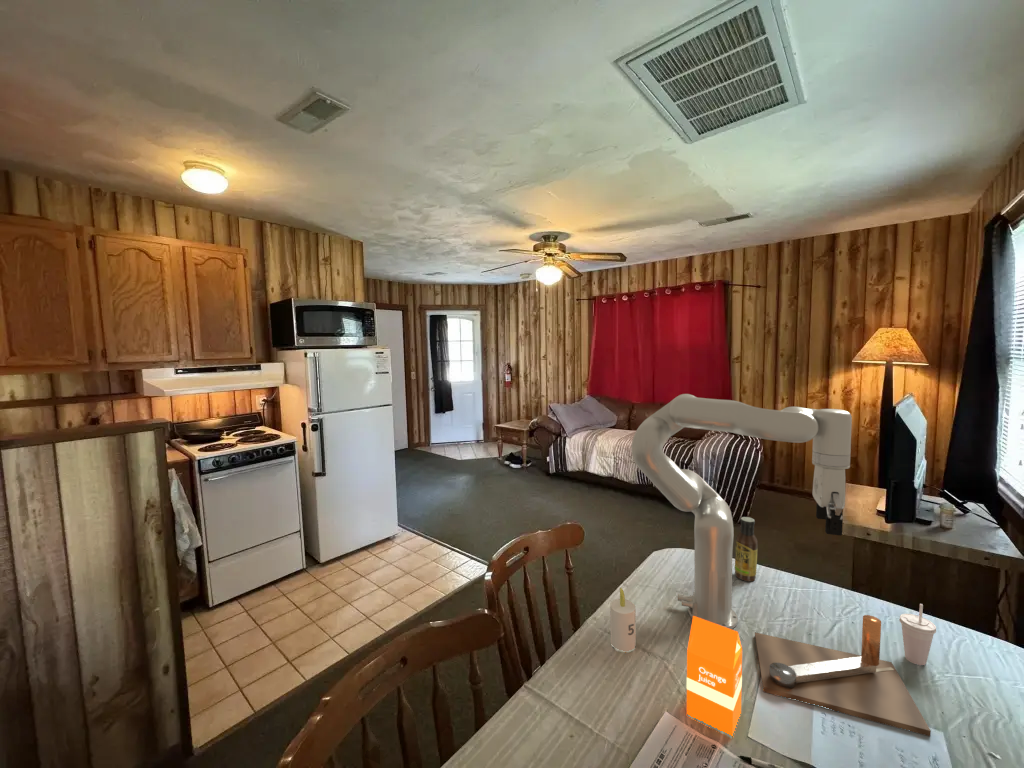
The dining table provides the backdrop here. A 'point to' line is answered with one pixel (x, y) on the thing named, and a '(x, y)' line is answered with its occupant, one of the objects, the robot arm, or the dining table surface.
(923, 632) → the smoothie
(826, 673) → the lever
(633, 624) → the candle
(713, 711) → the orange juice
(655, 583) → the dining table surface
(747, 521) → the sauce bottle
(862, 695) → the lever base
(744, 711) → the dining table surface
